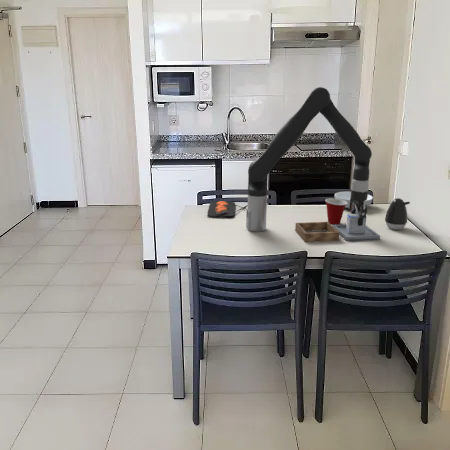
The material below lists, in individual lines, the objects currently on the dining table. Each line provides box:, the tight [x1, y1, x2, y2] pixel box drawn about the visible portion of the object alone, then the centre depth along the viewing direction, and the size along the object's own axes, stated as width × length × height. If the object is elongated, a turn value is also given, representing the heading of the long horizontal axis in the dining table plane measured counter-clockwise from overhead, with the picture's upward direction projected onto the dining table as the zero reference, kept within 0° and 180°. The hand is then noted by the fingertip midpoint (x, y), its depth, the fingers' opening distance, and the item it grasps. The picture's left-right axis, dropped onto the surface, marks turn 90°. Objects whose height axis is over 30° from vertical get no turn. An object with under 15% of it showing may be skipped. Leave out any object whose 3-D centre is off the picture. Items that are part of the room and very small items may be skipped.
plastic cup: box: [325, 197, 347, 226], centre depth 233 cm, size 11×11×12 cm
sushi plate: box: [207, 200, 248, 218], centre depth 255 cm, size 29×30×4 cm
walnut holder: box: [294, 221, 340, 243], centre depth 216 cm, size 16×16×4 cm
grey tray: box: [332, 223, 381, 242], centre depth 219 cm, size 16×18×2 cm
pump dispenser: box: [384, 197, 411, 231], centre depth 225 cm, size 10×10×15 cm
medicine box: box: [346, 213, 368, 234], centre depth 217 cm, size 8×4×9 cm, turn 94°
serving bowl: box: [334, 191, 374, 210], centre depth 263 cm, size 21×21×7 cm
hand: (356, 222), depth 217 cm, fingers open, 8 cm apart
